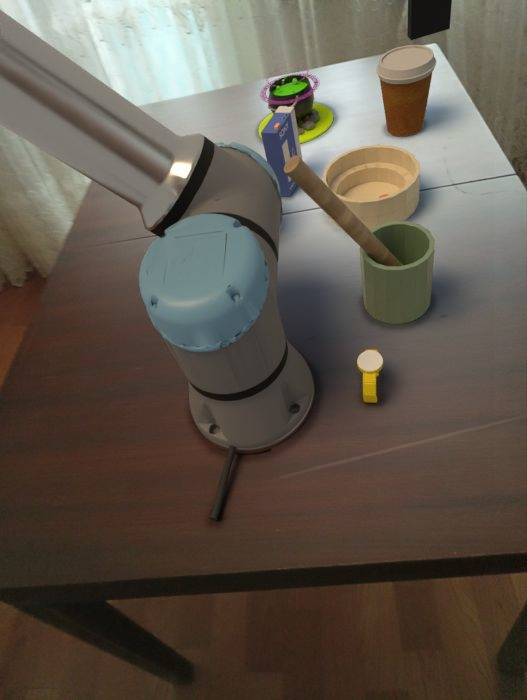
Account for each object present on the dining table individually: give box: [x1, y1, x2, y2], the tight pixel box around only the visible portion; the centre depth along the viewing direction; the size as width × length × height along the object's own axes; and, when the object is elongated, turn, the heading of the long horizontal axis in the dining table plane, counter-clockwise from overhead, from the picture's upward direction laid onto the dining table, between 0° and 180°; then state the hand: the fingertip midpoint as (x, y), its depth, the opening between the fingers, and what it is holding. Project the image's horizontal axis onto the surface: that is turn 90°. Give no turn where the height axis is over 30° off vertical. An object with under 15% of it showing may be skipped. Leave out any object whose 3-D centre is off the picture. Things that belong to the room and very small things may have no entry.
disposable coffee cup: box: [375, 44, 437, 137], centre depth 85 cm, size 10×10×12 cm
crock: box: [359, 220, 436, 325], centre depth 62 cm, size 8×8×10 cm
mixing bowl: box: [321, 144, 421, 230], centre depth 76 cm, size 14×14×6 cm
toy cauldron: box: [258, 60, 334, 144], centre depth 95 cm, size 15×15×11 cm
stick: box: [284, 156, 404, 266], centre depth 56 cm, size 2×2×26 cm
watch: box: [356, 349, 384, 404], centre depth 56 cm, size 6×3×6 cm, turn 170°
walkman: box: [261, 106, 304, 198], centre depth 82 cm, size 8×3×12 cm, turn 157°
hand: (396, 2), depth 39 cm, fingers open, 13 cm apart
